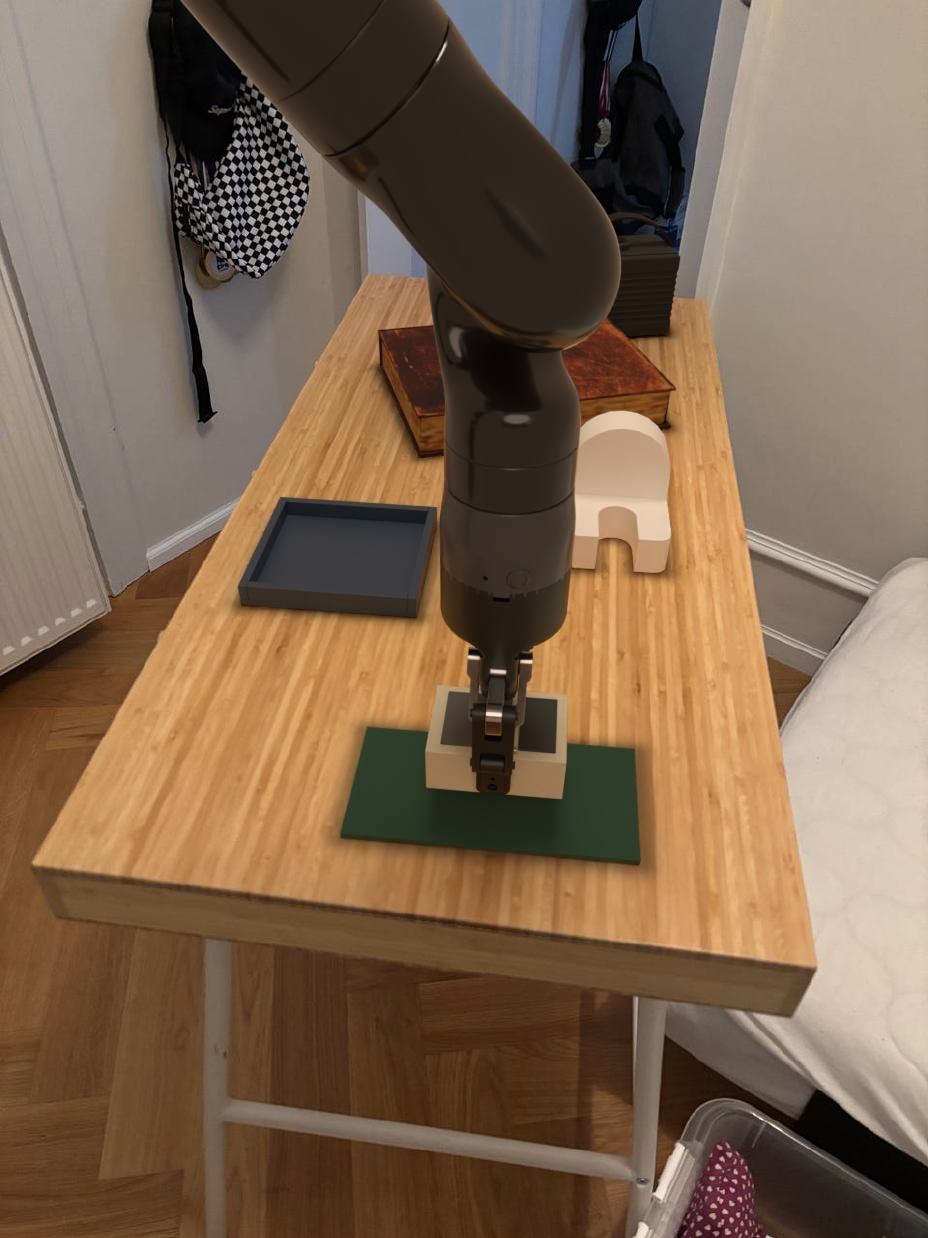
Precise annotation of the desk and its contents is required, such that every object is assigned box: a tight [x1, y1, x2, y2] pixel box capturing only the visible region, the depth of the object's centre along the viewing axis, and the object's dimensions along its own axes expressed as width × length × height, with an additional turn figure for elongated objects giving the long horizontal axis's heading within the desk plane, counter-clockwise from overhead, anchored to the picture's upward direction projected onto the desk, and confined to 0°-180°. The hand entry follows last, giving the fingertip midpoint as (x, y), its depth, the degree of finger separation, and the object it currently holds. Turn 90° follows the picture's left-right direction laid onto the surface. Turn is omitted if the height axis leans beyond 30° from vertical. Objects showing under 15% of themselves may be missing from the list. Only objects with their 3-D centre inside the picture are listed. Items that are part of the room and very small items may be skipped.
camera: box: [607, 211, 681, 338], centre depth 127 cm, size 11×14×15 cm
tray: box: [237, 496, 438, 618], centre depth 87 cm, size 16×15×2 cm
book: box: [377, 317, 677, 459], centre depth 113 cm, size 30×24×5 cm
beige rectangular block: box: [425, 684, 569, 799], centre depth 63 cm, size 9×6×4 cm
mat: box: [339, 726, 641, 865], centre depth 66 cm, size 20×10×1 cm, turn 84°
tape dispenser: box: [572, 411, 672, 574], centre depth 90 cm, size 10×18×11 cm, turn 175°
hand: (497, 750), depth 63 cm, fingers closed on beige rectangular block, 6 cm apart
